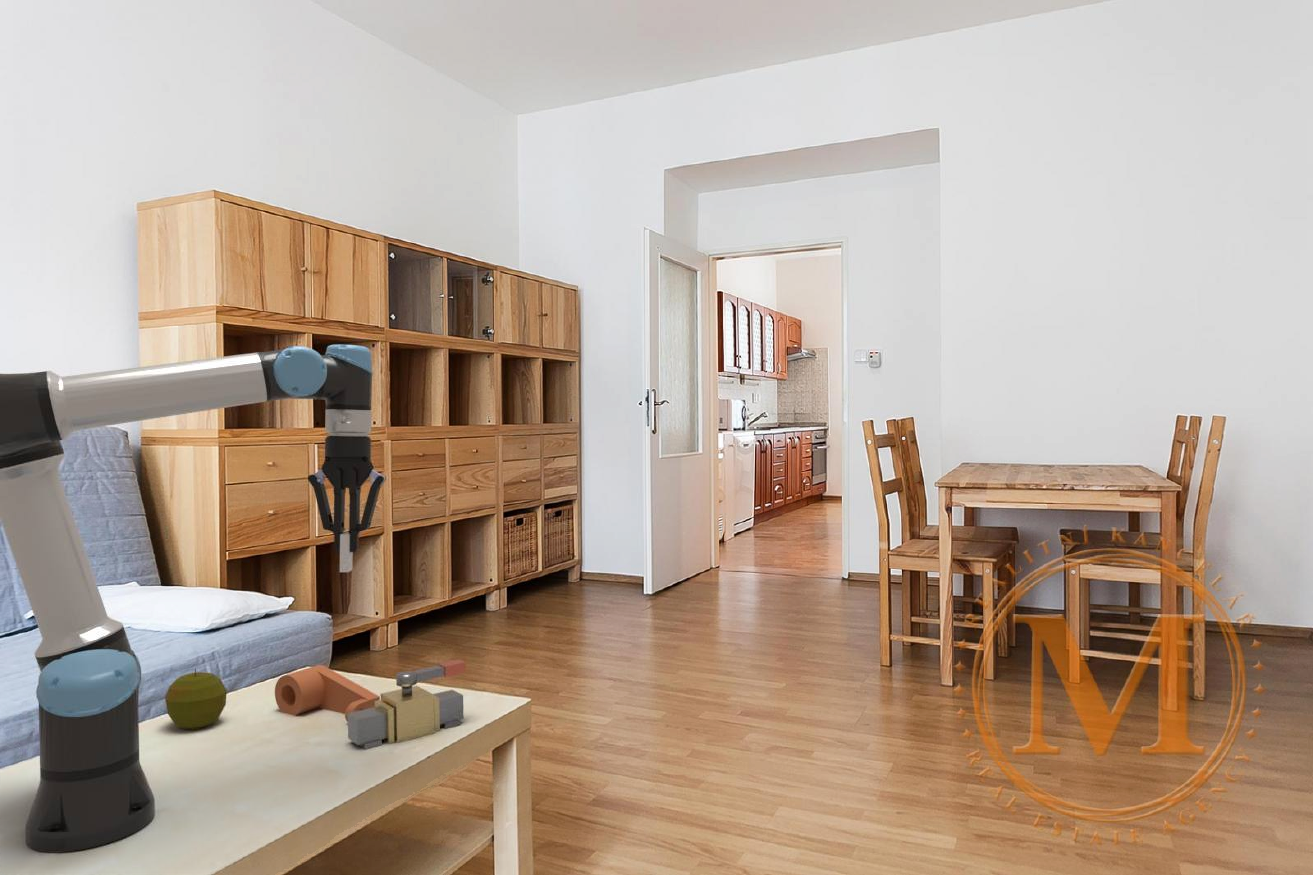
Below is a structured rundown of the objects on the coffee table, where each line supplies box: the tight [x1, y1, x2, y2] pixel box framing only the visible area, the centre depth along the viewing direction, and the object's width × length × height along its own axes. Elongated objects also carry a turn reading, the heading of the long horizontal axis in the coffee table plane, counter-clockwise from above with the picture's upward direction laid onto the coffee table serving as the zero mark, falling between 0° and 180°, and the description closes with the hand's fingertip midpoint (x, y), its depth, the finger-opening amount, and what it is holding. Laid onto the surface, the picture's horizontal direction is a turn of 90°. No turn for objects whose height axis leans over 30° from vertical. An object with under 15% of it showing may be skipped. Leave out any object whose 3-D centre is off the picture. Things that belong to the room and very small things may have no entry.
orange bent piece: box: [274, 664, 381, 723], centre depth 169 cm, size 20×8×8 cm, turn 61°
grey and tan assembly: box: [347, 685, 465, 750], centre depth 158 cm, size 20×7×8 cm, turn 130°
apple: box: [164, 668, 228, 731], centre depth 162 cm, size 10×10×11 cm
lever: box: [395, 658, 467, 688], centre depth 161 cm, size 13×4×2 cm, turn 134°
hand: (346, 570), depth 151 cm, fingers closed
